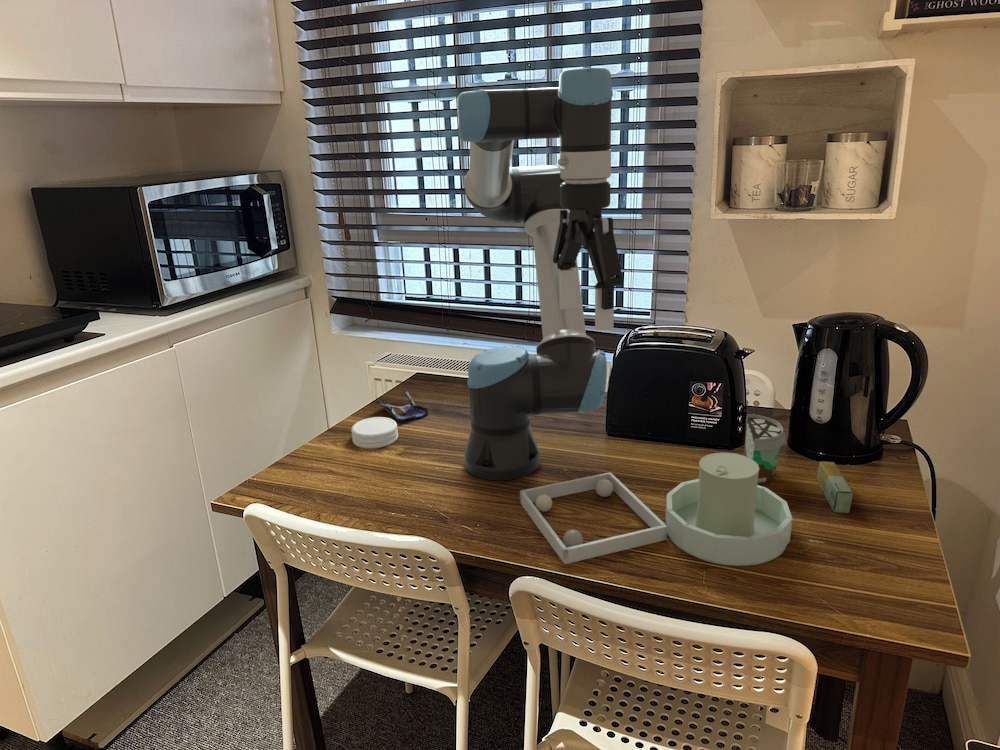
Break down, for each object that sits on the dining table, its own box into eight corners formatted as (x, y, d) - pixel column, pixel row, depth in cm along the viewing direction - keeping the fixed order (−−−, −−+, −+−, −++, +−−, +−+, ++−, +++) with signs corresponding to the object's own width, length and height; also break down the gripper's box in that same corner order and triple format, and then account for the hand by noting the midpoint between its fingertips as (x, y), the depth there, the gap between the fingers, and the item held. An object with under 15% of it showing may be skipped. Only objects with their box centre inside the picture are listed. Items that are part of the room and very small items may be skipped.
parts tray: (520, 502, 127) (519, 490, 126) (610, 483, 132) (610, 472, 132) (564, 564, 109) (564, 550, 109) (666, 539, 115) (667, 526, 114)
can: (685, 530, 116) (688, 464, 112) (711, 507, 122) (715, 444, 118) (738, 550, 110) (744, 482, 106) (763, 525, 116) (769, 459, 112)
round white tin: (345, 438, 157) (343, 424, 156) (385, 426, 162) (384, 412, 161) (364, 454, 149) (362, 439, 148) (406, 440, 154) (405, 426, 153)
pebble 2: (559, 545, 114) (559, 528, 113) (578, 540, 115) (577, 523, 114) (567, 555, 111) (567, 538, 110) (586, 551, 112) (586, 534, 111)
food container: (786, 492, 127) (792, 441, 124) (750, 490, 128) (755, 440, 125) (775, 461, 138) (780, 414, 135) (742, 459, 140) (746, 412, 136)
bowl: (644, 514, 122) (645, 490, 120) (738, 493, 127) (740, 469, 126) (708, 577, 105) (710, 550, 103) (814, 550, 110) (817, 523, 109)
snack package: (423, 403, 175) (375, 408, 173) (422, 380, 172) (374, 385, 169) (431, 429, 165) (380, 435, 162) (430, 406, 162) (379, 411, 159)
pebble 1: (532, 508, 125) (532, 493, 124) (548, 504, 126) (548, 489, 125) (539, 516, 123) (538, 501, 122) (555, 512, 124) (554, 497, 123)
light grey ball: (592, 493, 129) (592, 477, 128) (608, 490, 130) (608, 474, 129) (600, 501, 127) (600, 485, 125) (616, 498, 127) (616, 482, 126)
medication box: (850, 514, 120) (854, 493, 118) (833, 513, 120) (837, 492, 119) (831, 480, 131) (834, 460, 130) (815, 479, 131) (818, 460, 130)
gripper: (531, 177, 116) (534, 303, 123) (599, 189, 93) (598, 342, 101) (573, 174, 118) (574, 298, 125) (649, 185, 95) (645, 335, 103)
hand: (585, 318), depth 113 cm, fingers open, 13 cm apart
